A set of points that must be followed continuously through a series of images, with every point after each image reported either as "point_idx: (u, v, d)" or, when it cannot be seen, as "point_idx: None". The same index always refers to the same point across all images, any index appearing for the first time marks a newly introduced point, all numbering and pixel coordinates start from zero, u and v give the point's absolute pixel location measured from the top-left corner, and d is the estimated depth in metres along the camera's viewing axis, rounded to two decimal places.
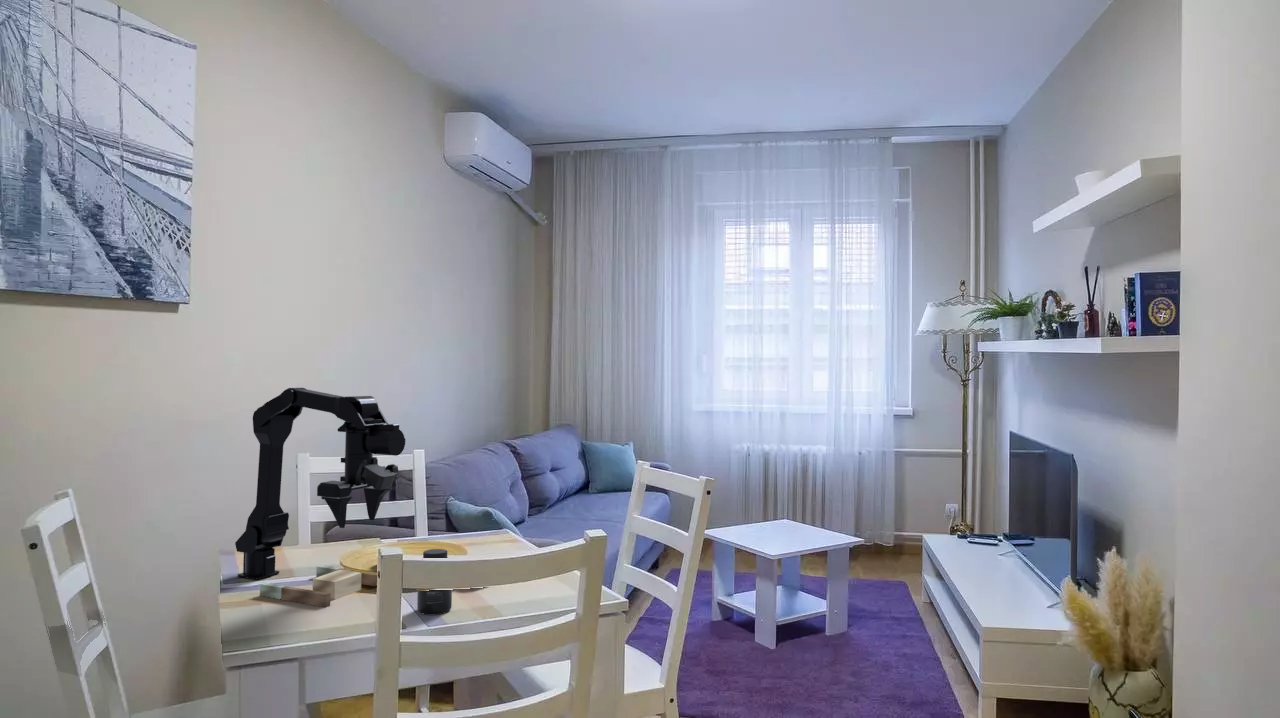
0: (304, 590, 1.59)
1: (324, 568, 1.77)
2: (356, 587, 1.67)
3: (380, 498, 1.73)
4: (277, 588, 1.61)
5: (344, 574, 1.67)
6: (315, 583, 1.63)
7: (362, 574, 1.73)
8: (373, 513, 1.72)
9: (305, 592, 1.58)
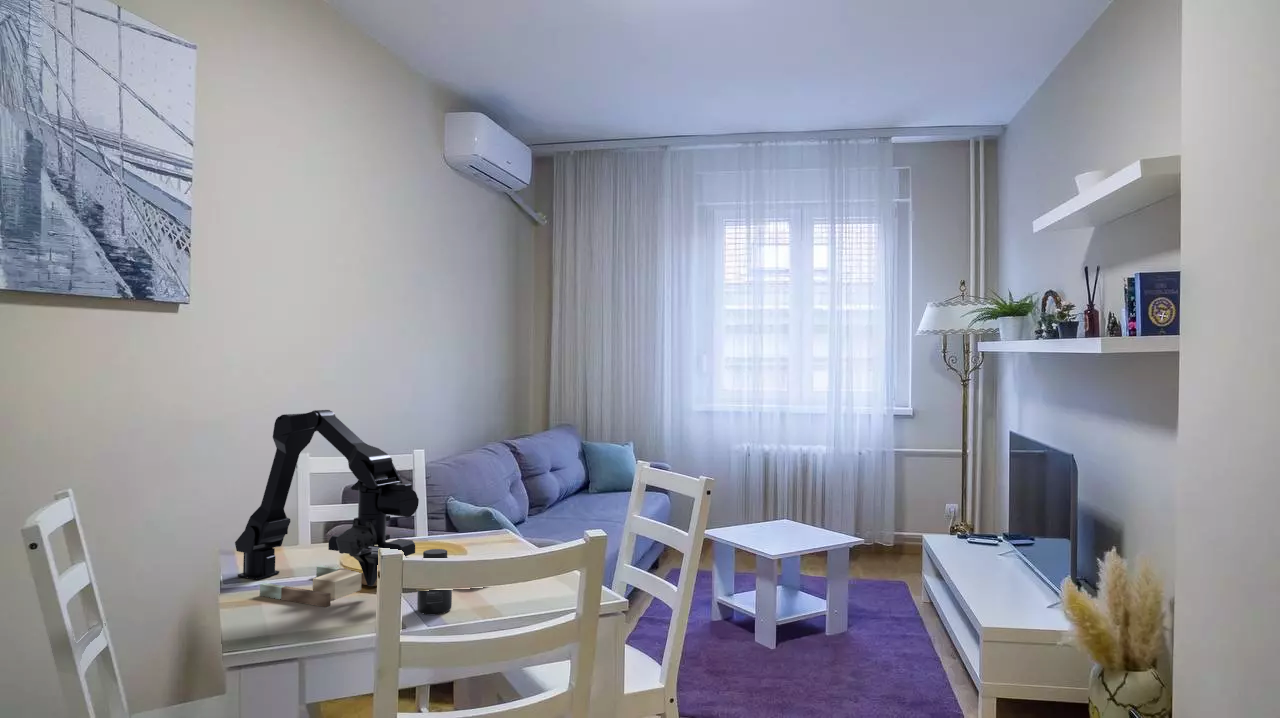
0: (304, 590, 1.59)
1: (324, 568, 1.77)
2: (356, 587, 1.67)
3: (371, 564, 1.61)
4: (277, 588, 1.61)
5: (344, 574, 1.67)
6: (315, 583, 1.63)
7: (362, 574, 1.73)
8: None
9: (305, 592, 1.58)
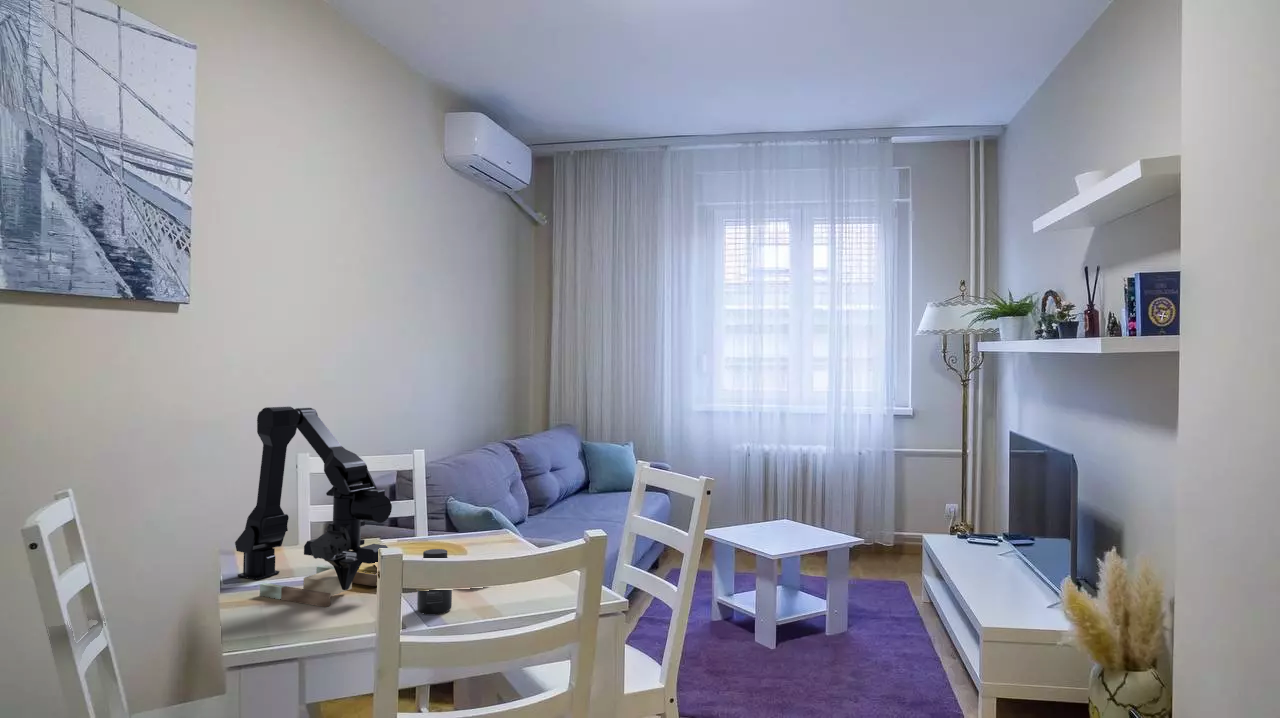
0: (304, 590, 1.59)
1: (324, 568, 1.77)
2: None
3: (345, 569, 1.64)
4: (277, 588, 1.61)
5: (335, 573, 1.68)
6: (306, 582, 1.64)
7: (362, 574, 1.73)
8: None
9: (305, 592, 1.58)
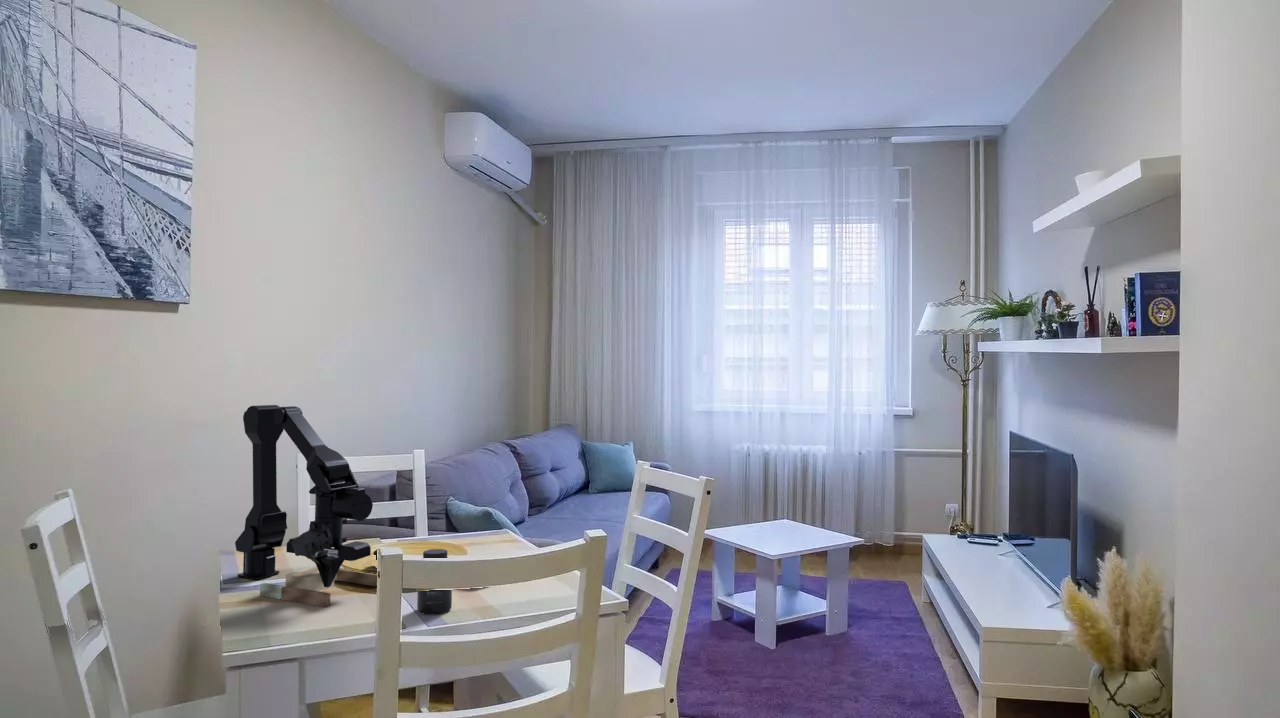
0: (304, 590, 1.59)
1: None
2: None
3: (327, 566, 1.65)
4: (277, 588, 1.61)
5: (317, 570, 1.70)
6: (288, 579, 1.66)
7: (362, 574, 1.73)
8: None
9: (305, 592, 1.58)
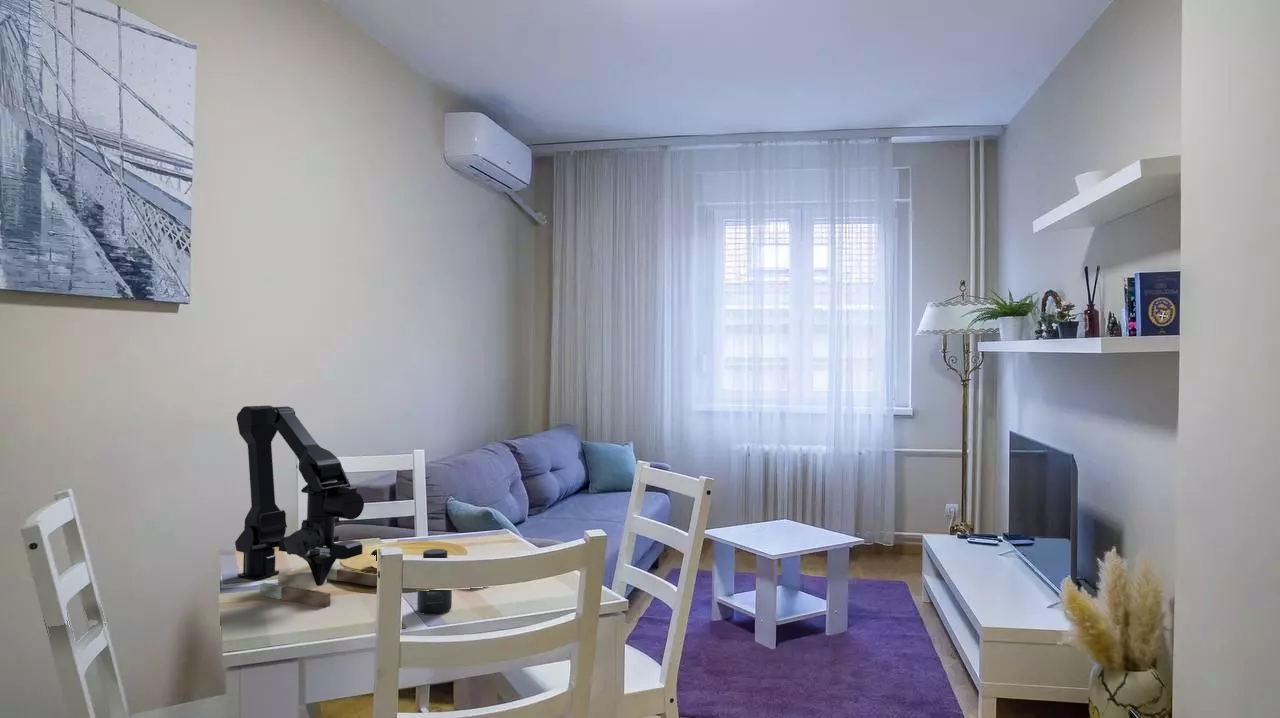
0: (304, 590, 1.59)
1: None
2: None
3: (319, 565, 1.66)
4: (277, 588, 1.61)
5: (310, 569, 1.71)
6: (280, 578, 1.67)
7: (362, 574, 1.73)
8: None
9: (305, 592, 1.58)
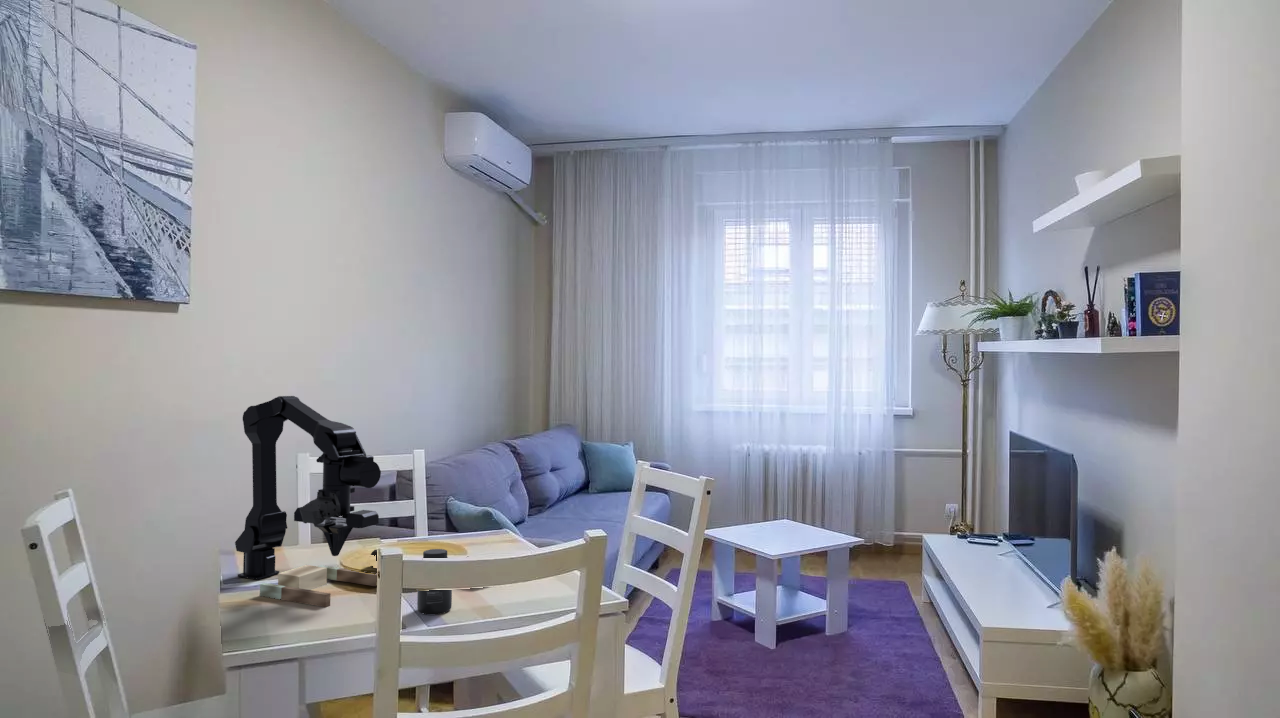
0: (304, 590, 1.59)
1: None
2: (321, 582, 1.71)
3: (335, 535, 1.65)
4: (277, 588, 1.61)
5: (309, 569, 1.71)
6: (280, 578, 1.67)
7: (362, 574, 1.73)
8: None
9: (305, 592, 1.58)
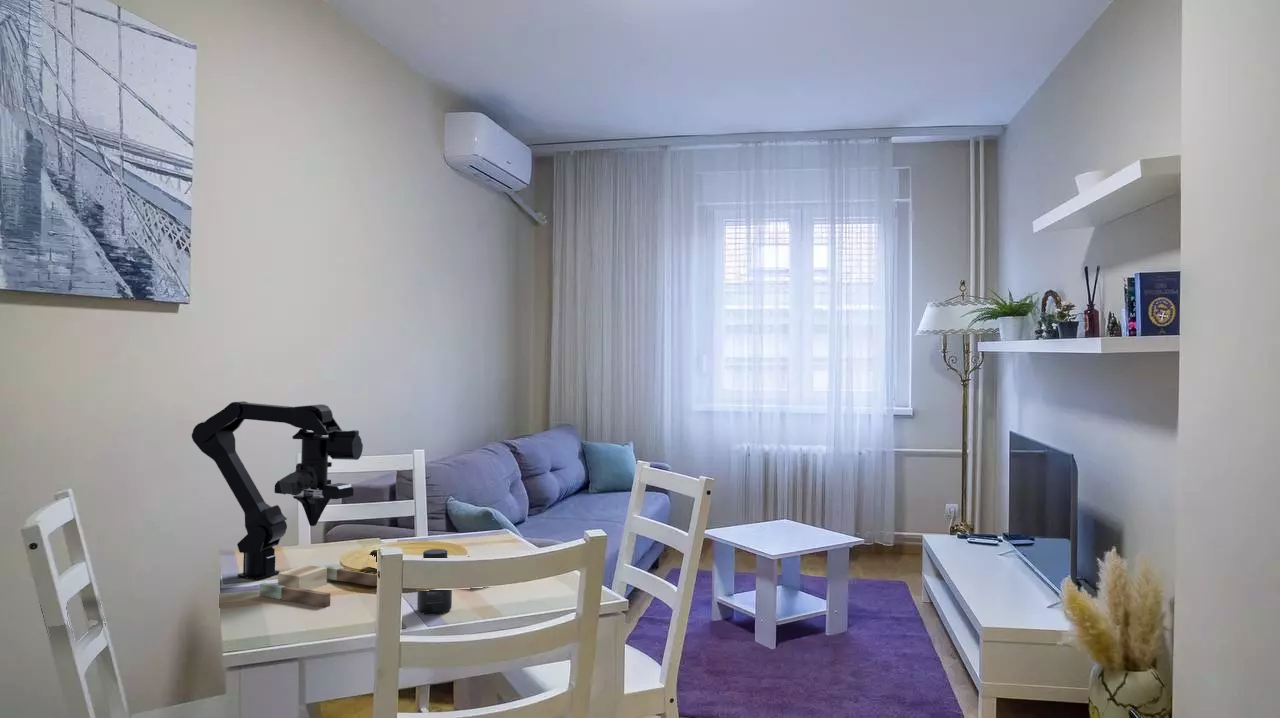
0: (304, 590, 1.59)
1: None
2: (321, 582, 1.71)
3: (312, 506, 1.76)
4: (277, 588, 1.61)
5: (309, 569, 1.71)
6: (280, 578, 1.67)
7: (362, 574, 1.73)
8: None
9: (305, 592, 1.58)
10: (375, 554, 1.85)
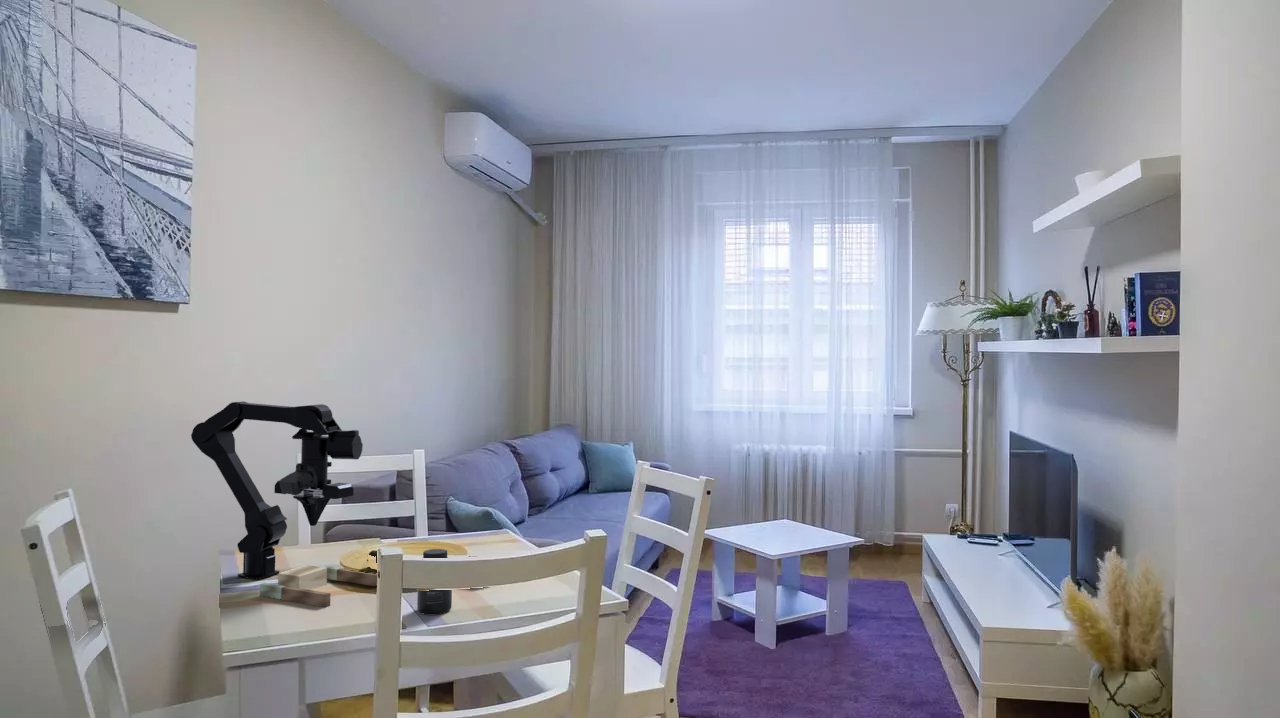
0: (304, 590, 1.59)
1: None
2: (321, 582, 1.71)
3: (312, 506, 1.76)
4: (277, 588, 1.61)
5: (309, 569, 1.71)
6: (280, 578, 1.67)
7: (362, 574, 1.73)
8: None
9: (305, 592, 1.58)
10: (374, 554, 1.85)
